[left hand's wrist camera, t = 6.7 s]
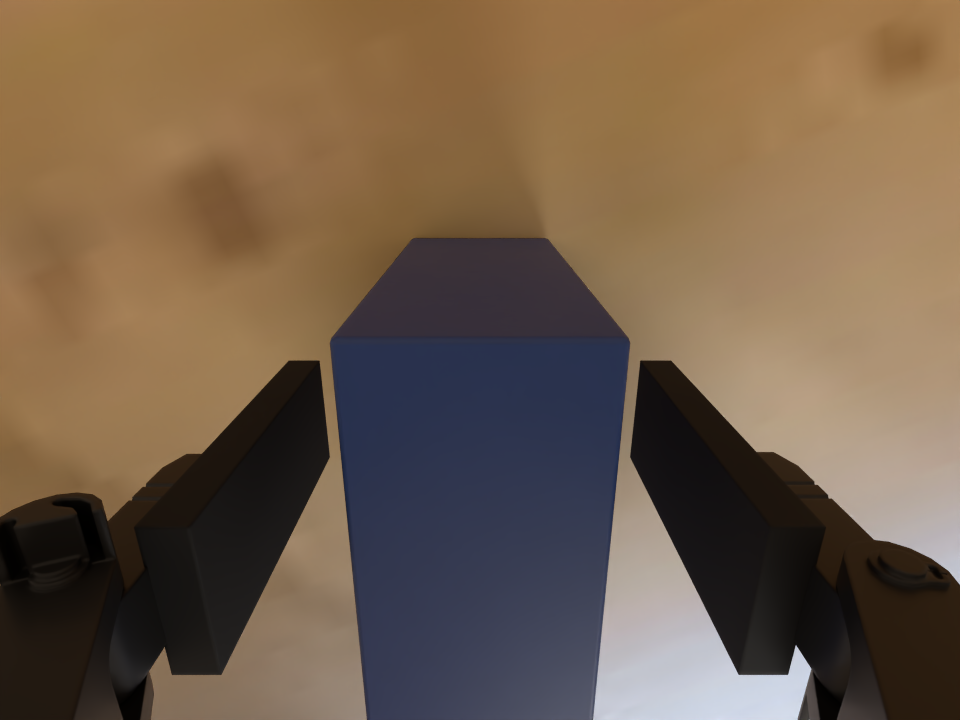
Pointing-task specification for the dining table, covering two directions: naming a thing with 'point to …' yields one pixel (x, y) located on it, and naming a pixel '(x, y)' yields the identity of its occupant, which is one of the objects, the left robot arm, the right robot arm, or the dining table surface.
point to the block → (480, 480)
